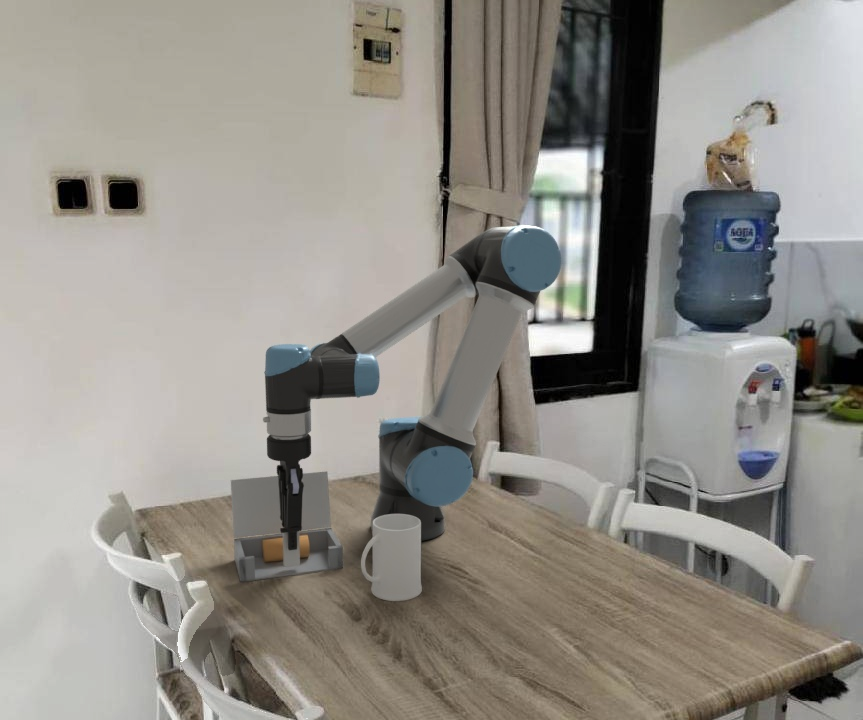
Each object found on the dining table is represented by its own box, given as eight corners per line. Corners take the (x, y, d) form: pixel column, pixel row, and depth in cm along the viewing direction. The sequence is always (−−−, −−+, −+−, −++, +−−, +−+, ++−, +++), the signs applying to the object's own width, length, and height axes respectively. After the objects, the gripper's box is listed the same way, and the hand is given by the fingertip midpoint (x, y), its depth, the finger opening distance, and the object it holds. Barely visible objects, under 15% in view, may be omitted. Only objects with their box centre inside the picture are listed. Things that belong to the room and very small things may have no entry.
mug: (374, 612, 121) (374, 539, 119) (344, 593, 127) (344, 524, 126) (432, 591, 128) (433, 523, 127) (401, 575, 135) (401, 509, 133)
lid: (331, 526, 146) (329, 526, 147) (327, 471, 147) (326, 471, 148) (233, 537, 140) (233, 537, 141) (230, 480, 141) (230, 479, 143)
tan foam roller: (305, 552, 144) (305, 531, 143) (309, 560, 140) (309, 539, 140) (262, 557, 141) (261, 536, 141) (265, 565, 137) (264, 544, 137)
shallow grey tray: (331, 547, 147) (331, 527, 146) (343, 568, 137) (342, 547, 137) (234, 559, 141) (234, 539, 140) (240, 582, 131) (239, 559, 131)
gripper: (261, 427, 137) (265, 553, 140) (272, 445, 125) (275, 582, 128) (303, 424, 139) (305, 548, 143) (318, 441, 127) (320, 576, 131)
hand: (291, 564), depth 136 cm, fingers closed
